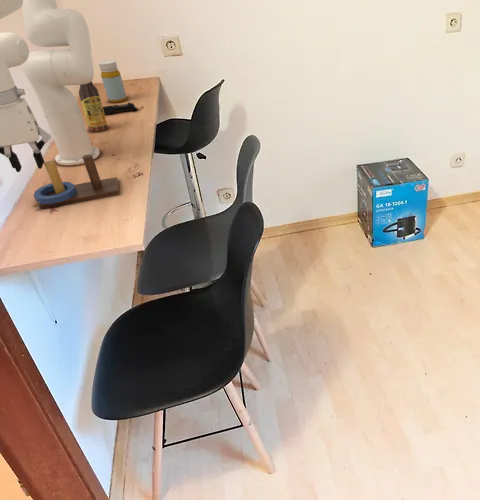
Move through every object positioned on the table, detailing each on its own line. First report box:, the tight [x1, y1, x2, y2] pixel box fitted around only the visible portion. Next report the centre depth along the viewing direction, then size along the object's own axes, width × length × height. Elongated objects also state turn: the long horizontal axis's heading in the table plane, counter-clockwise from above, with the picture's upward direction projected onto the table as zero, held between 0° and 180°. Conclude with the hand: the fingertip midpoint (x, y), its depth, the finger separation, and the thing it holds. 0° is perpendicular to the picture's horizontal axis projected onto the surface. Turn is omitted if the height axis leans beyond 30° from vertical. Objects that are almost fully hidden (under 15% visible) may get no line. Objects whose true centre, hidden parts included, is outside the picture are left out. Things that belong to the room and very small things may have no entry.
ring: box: [33, 181, 76, 204], centre depth 134 cm, size 10×10×2 cm
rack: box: [38, 154, 120, 210], centre depth 134 cm, size 9×19×10 cm, turn 112°
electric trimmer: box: [102, 102, 138, 115], centre depth 192 cm, size 4×16×3 cm, turn 112°
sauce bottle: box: [78, 80, 108, 133], centre depth 173 cm, size 6×6×20 cm
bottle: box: [98, 59, 128, 104], centre depth 201 cm, size 7×7×15 cm
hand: (30, 167), depth 129 cm, fingers open, 4 cm apart
